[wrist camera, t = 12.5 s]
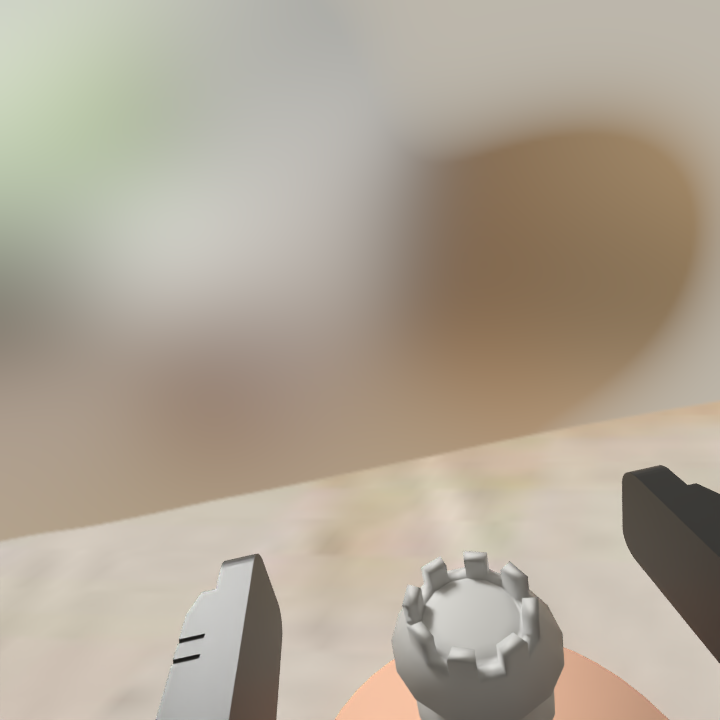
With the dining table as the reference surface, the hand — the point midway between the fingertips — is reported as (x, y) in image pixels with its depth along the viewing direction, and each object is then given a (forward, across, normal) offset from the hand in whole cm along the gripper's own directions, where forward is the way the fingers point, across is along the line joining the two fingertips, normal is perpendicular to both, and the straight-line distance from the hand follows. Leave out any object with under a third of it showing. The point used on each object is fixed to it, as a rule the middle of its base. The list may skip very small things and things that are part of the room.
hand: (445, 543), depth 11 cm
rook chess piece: (-2, 0, +8) cm, 8 cm away
